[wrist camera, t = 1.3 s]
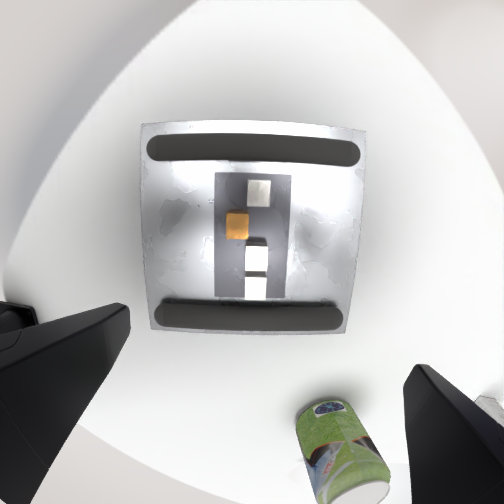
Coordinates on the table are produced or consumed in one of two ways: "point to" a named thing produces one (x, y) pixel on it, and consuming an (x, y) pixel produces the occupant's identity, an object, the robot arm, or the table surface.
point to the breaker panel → (250, 226)
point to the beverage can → (341, 456)
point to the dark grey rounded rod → (248, 317)
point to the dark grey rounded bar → (253, 148)
